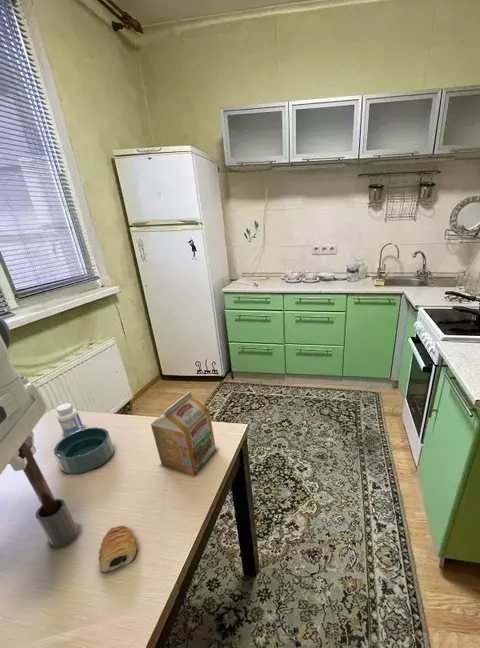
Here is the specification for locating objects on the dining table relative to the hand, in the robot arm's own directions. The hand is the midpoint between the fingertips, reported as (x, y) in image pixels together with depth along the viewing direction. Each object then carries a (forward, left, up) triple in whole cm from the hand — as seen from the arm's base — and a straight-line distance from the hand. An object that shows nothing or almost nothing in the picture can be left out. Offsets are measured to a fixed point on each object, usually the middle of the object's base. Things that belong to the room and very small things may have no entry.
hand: (26, 461), depth 60 cm
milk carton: (+26, +18, -22) cm, 38 cm away
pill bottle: (-10, +41, -22) cm, 48 cm away
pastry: (+12, -7, -22) cm, 26 cm away
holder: (0, 0, -22) cm, 22 cm away
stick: (0, 0, -14) cm, 14 cm away
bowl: (-2, +26, -22) cm, 34 cm away
